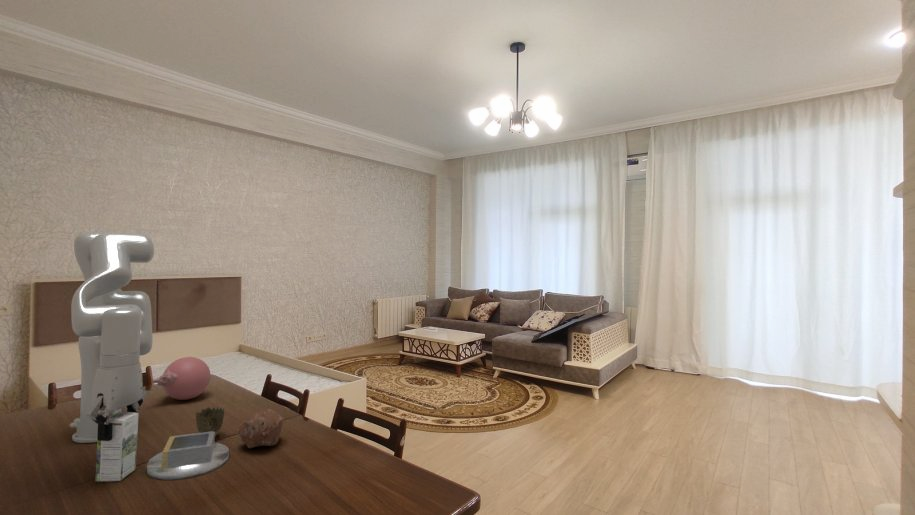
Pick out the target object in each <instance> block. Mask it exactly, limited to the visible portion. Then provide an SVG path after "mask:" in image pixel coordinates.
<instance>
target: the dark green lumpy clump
mask: <svg viewBox="0 0 915 515" xmlns="http://www.w3.org/2000/svg"><path fill="white" fill-rule="evenodd" d="M225 410H226V409H225V408H224V407H219V406H218V407H217V408H216V407H215V406H213V407H212V408H211V407H209V406H208V407H206V408H205V409H204V408H201V410H200V412H199V410H198V411H196V412H195V419H196V421H195V422H196V427H197V431H198V433H203V432H211V431H215V438H216V437H217V435H218V434H217V432H219V431H220V430H221V429H222V427H223V423H224V418H225V417H224V416H225Z"/></svg>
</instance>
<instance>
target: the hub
mask: <svg viewBox="0 0 915 515" xmlns="http://www.w3.org/2000/svg"><path fill="white" fill-rule="evenodd" d="M215 438H216V437H215V431H211V432H203V433H200V432H197V433H188V434H186V433H185V434H179V435H171V436H169V438H168V440H167V442H166V443H165V445H164V448H163V451H161V452H159V453H157V454H155V455H154V456H153V457H151V458H150V459H149V460H148V462H147V464H146V474H147V475H148V476H149V477H151V478H153V479H157V480H161V481H162V480H163V481H165V480H166V481H169V480H170V481H171V480H172V481H173V480H175V481H177V480H185V479H189V478H194V477H198V476H201V475H204V474H207V473H210V472H213V471H215V470H216V469H218V468H220V467H221V466H223V465H224V464H225V463H226V462H227V461H228V459H229V456H230V453H229V451H230V450H229V447H228V446H227V445H226V444H224V443H223V444H222V443H221V442H220V443H219V442H215Z"/></svg>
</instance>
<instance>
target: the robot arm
mask: <svg viewBox="0 0 915 515" xmlns="http://www.w3.org/2000/svg"><path fill="white" fill-rule="evenodd" d="M73 242H74V243H73V244H74V245H73V249H74V256H75V259H76V262H77V264H78V266H79V268H80V271H81V273H82V276H83V279H84V281H83V282H82V284H80V286H79V287H78V288H77V289H76V291H75V292H74V294H73V296H72V299H71V308H70V309H71V311H70V312H71V313H70V314H71V328H72V330H73V331H72V332H74V334H75V335H76V336H78V352H79V358H80V369H81V370H80V373H81V374H80V376H81V378H80V379H81V380H80V408H79V409H80V411H79V414H80V416H79V417H77V418H75V419H74V420H73V422H71V423H70V424H69V428H76V431H75V432H74V433H73V434H72V436H71V437H72V438H71V439H72V441H73V442H74V443H78V444H91V443H97V439H98V440H99V441H110V440H112V428H113V424H112V423H110V421H111V418H112V416H113V413H116V412H123V408H124V409H125V412H134V413H140V410H141V406H142V404H143V402H144V400H145V398H146V397H147V394H148V391H146V390H145V389H144V388H143V371H142V365H141V362H140V356H145V355H147V354H148V353H150V352H151V350H152V348H153V321H152V320H153V319H152V303H151V300H150V296H149V295H148V294H147V293H146V292H144V291H141V290H122V288H124V287H125V286H127V285H128V284H130V282H131V281H132V280H133V272H132V267H131V265H132V264H131V263H133V264H134V263H135V264H137V263H139V264H143V263H144V264H145V263H146V264H147V263H150V262H151V261H152V260H153V257H154V254H155V248H154V247H155V245H154V242H153V241H152V238H151V237H150V236H148V235H147V234H141V233H140V234H139V233H124V232H123V233H121V232H119V233H118V232H106V231H104V232H100V231H96V232H94V231H90V232H84V233H80V234H78V235H77V236H76V237H75V238H74V241H73ZM105 417H106V418H105Z"/></svg>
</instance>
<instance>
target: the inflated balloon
mask: <svg viewBox="0 0 915 515" xmlns="http://www.w3.org/2000/svg"><path fill="white" fill-rule="evenodd" d="M210 380H211V370H210V367H209V366H208V365H207V363H206V362H205V361H203V360H202V359H200V358H197V357H194V356H185V357H181V358H178V359H176V360H174V361H173V362H171V363H170V364H168V366H167V367H166V368H165V370H164V372H163V373H162V375H160V376H159V377H157V378H154V379H153V380H152V384H156V383H157V386H161V387H162V389H163V391H164V392H165V394H166V395H167V396H168V397H171V399H174V400H177V401H187V400H192V399H194V398H196V397H198V396H200V395H202V393H203V392H204V391H205V390H206V389H207V388H208V386H209V385H210V382H211V381H210Z"/></svg>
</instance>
